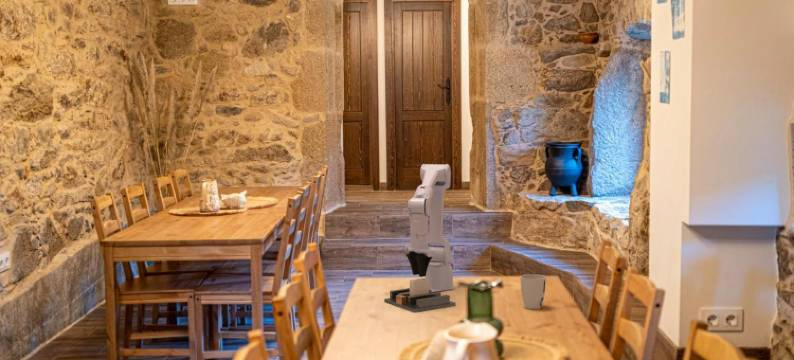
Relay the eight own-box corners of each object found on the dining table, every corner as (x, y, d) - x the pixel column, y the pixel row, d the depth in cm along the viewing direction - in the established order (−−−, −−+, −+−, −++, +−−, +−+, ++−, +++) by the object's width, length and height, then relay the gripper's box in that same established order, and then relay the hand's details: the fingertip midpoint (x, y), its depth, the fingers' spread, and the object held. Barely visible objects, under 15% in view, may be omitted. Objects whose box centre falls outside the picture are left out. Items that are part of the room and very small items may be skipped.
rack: (424, 295, 308) (424, 285, 308) (455, 305, 293) (455, 295, 293) (384, 301, 299) (384, 291, 299) (414, 312, 284) (414, 301, 284)
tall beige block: (424, 298, 299) (424, 278, 298) (429, 300, 297) (428, 279, 296) (409, 301, 295) (409, 280, 295) (413, 302, 293) (413, 281, 293)
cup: (547, 310, 286) (547, 279, 285) (521, 310, 286) (521, 279, 285) (543, 304, 294) (544, 274, 293) (518, 304, 294) (519, 274, 293)
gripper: (396, 232, 298) (397, 273, 299) (421, 238, 286) (421, 280, 287) (414, 230, 302) (414, 270, 303) (439, 236, 289) (439, 278, 291)
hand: (419, 275), depth 295 cm, fingers open, 3 cm apart
